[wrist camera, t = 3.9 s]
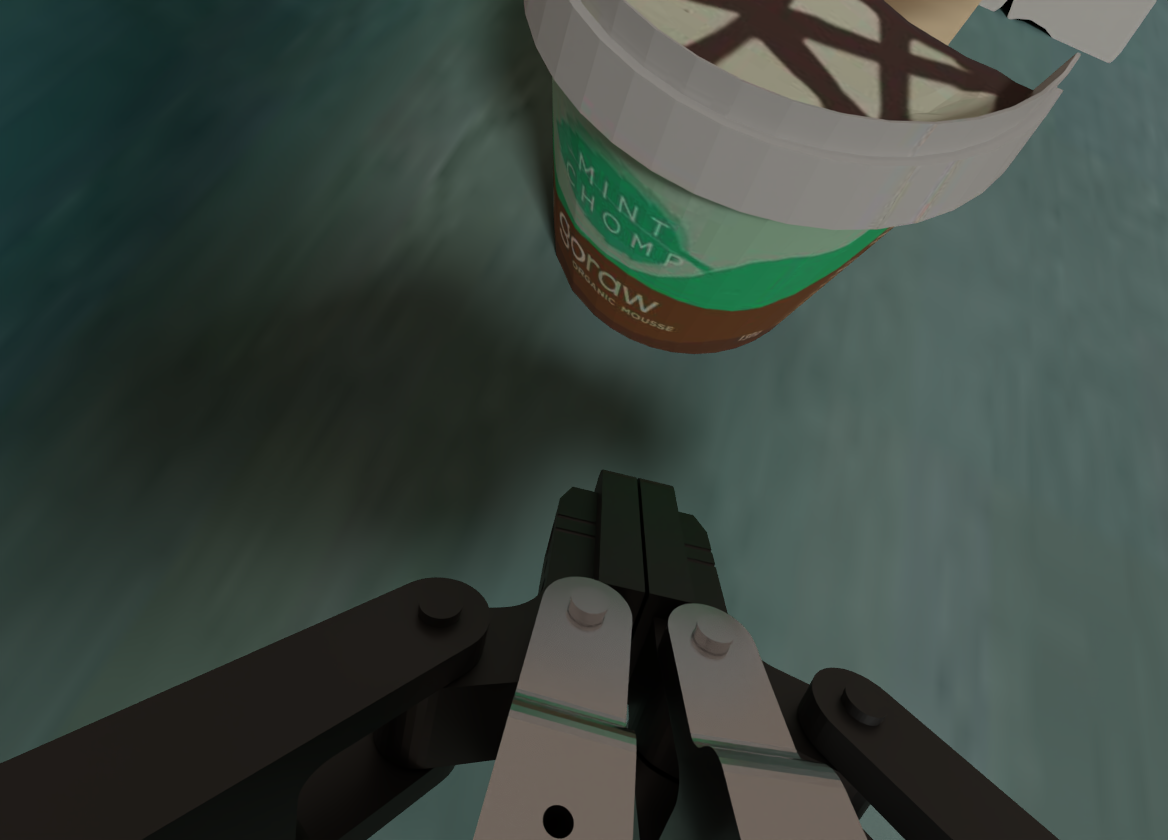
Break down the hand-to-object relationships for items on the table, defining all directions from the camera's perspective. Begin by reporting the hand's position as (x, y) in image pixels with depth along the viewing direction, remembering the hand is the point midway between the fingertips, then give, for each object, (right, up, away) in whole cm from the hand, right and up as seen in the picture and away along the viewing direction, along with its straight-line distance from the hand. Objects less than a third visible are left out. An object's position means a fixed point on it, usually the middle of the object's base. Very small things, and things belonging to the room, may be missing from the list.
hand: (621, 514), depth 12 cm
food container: (+1, +6, +8) cm, 10 cm away
